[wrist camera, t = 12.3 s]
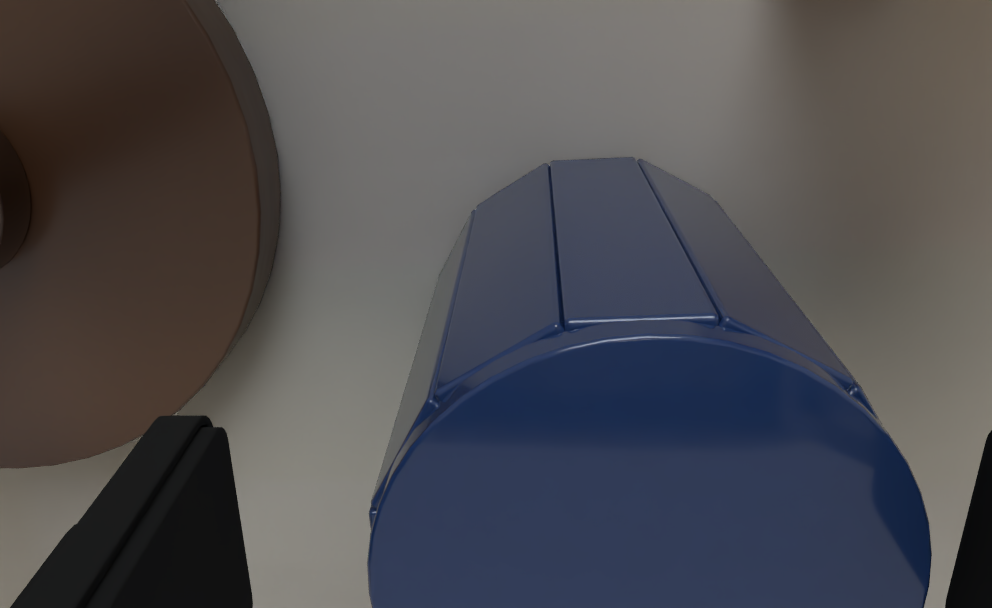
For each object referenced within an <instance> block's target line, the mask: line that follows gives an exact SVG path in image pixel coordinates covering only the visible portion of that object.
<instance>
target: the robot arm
mask: <svg viewBox="0 0 992 608" xmlns="http://www.w3.org/2000/svg"><path fill="white" fill-rule="evenodd" d="M252 607H253V601H252V592H251V585H250V579H249V572H248V566H247V559H246V553H245V546H244V540H243V533H242V527H241V521H240V514H239V508H238V501H237V495H236V488H235V482H234V475H233V469H232V462H231V456H230V449H229V443H228V437H227V433H226V431H225V429H224V428H222V427H213V425H212V422H211V420H210V418H208V417H207V416H159V417H158V418H157V419H156V420H155V421H154V422H153V423H152V425H151V426H150V427H149V429H148V430H147V431H146V433H145V434H144V435H143V437H142V438H141V439H140V441H139V442H138V443H137V445H136V446H135V447H134V449H133V450H132V451H131V453H130V454H129V455H128V457H127V458H126V459H125V461H124V462H123V463H122V465H121V466H120V467H119V469H118V470H117V471H116V473H115V474H114V475H113V477H112V478H111V479H110V481H109V482H108V483H107V485H106V486H105V487H104V489H103V490H102V491H101V493H100V494H99V495H98V497H97V498H96V499H95V501H94V502H93V503H92V505H91V506H90V507H89V509H88V510H87V511H86V513H85V514H84V515H83V517H82V518H81V519H80V521H79V522H78V523H77V524H76V525H74V526H73V527H72V528H71V529H70V530H69V531H68V532H67V533H66V534H65V535H64V537H63V538H62V539H61V541H60V542H59V543H58V545H57V546H56V547H55V549H54V550H53V551H52V553H51V554H50V555H49V557H48V558H47V559H46V561H45V562H44V563H43V565H42V566H41V567H40V569H39V570H38V571H37V573H36V574H35V575H34V577H33V578H32V579H31V580H30V582H29V583H28V584H27V586H26V587H25V588H24V590H23V591H22V592H21V594H20V595H19V596H18V598H17V599H16V600H15V602H14V603H13V604H12V606H11V607H10V608H252ZM945 608H992V431H991V432H990V433H989V434H988V437H987V439H986V443H985V447H984V451H983V455H982V459H981V463H980V467H979V471H978V475H977V479H976V483H975V487H974V491H973V495H972V499H971V503H970V507H969V511H968V515H967V519H966V522H965V526H964V530H963V534H962V538H961V542H960V546H959V550H958V554H957V558H956V562H955V566H954V570H953V574H952V578H951V582H950V586H949V590H948V594H947V598H946V605H945Z"/></svg>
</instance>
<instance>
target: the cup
mask: <svg viewBox="0 0 992 608" xmlns="http://www.w3.org/2000/svg"><path fill="white" fill-rule="evenodd" d="M369 519H370V527H371V533H370V542H369V551H368V561H367V568H368V587H369V596H370V600H371V605H372V608H924V604H925V600H926V596H927V592H928V588H929V580H930V568H931V556H932V553H931V541H930V529H929V521H928V517H927V513H926V509H925V505H924V501H923V498H922V494H921V491H920V488H919V486H918V484H917V482H916V480H915V477H914V475H913V473H912V471H911V468H910V466H909V464H908V462H907V460H906V459H905V457H904V456H903V454H902V453H901V451H900V450H899V448H898V447H897V445H896V444H895V442H894V441H893V439H892V438H891V436H890V435H889V433H888V432H887V431H886V430H885V428H884V427H883V425H882V423H881V422H880V420H879V418H878V416H877V414H876V413H875V411H874V409H873V407H872V405H871V404H870V402H869V400H868V398H867V396H866V395H865V393H864V391H863V389H862V387H861V386H860V385H859V384H858V382H857V381H856V380H855V378H854V377H853V376H852V375H851V373H850V372H849V371H848V369H847V368H846V367H845V366H844V364H843V363H842V362H841V360H840V359H839V358H838V357H837V355H836V354H835V353H834V351H833V350H832V349H831V348H830V346H829V345H828V344H827V342H826V341H825V340H824V339H823V337H822V336H821V335H820V334H819V332H818V331H817V330H816V328H815V327H814V326H813V325H812V323H811V322H810V321H809V319H808V318H807V317H806V316H805V314H804V313H803V312H802V310H801V309H800V308H799V307H798V305H797V304H796V303H795V301H794V300H793V299H792V298H791V296H790V295H789V294H788V292H787V291H786V290H785V289H784V287H783V286H782V285H781V283H780V282H779V281H778V280H777V278H776V277H775V276H774V274H773V273H772V272H771V271H770V269H769V268H768V267H767V265H766V264H765V263H764V262H763V260H762V259H761V258H760V256H759V255H758V254H757V253H756V251H755V250H754V249H753V247H752V246H751V245H750V244H749V242H748V241H747V240H746V239H745V237H744V236H743V235H742V233H741V232H740V231H739V230H738V228H737V227H736V226H735V224H734V223H733V222H732V221H731V219H730V218H729V217H728V215H727V214H726V213H725V212H724V210H723V209H722V208H721V206H720V205H719V204H718V203H717V201H715V200H714V199H713V198H712V197H711V196H710V195H709V194H707V193H705V192H703V191H702V190H700V189H698V188H696V187H694V186H692V185H690V184H688V183H686V182H684V181H683V180H681V179H679V178H677V177H675V176H673V175H671V174H669V173H667V172H665V171H664V170H662V169H660V168H658V167H656V166H654V165H652V164H650V163H648V162H646V161H644V160H643V159H638V160H637V161H636V159H635V158H633V157H624V158H602V159H580V160H558V161H551V162H550V166H549V165H548V164H547V163H545V164H542V165H541V166H539V167H538V168H536V169H534V170H533V171H531V172H530V173H528V174H526V175H525V176H523V177H522V178H520V179H518V180H517V181H515V182H514V183H512V184H510V185H509V186H507V187H506V188H504V189H502V190H501V191H499V192H498V193H496V194H494V195H493V196H491V197H490V198H488V199H487V200H485V201H483V202H482V203H480V204H479V205H478V206H477V208H476V210H473V211H472V212H471V214H470V216H469V218H468V220H467V222H466V224H465V226H464V228H463V230H462V232H461V234H460V235H459V237H458V239H457V241H456V243H455V245H454V247H453V249H452V251H451V253H450V255H449V257H448V259H447V261H446V263H445V265H444V267H443V268H442V270H441V272H440V274H439V277H438V280H437V283H436V287H435V290H434V293H433V297H432V300H431V303H430V307H429V310H428V313H427V317H426V320H425V323H424V327H423V330H422V333H421V337H420V340H419V343H418V347H417V350H416V353H415V357H414V360H413V363H412V367H411V370H410V373H409V377H408V380H407V383H406V387H405V390H404V393H403V397H402V400H401V403H400V407H399V410H398V413H397V417H396V420H395V423H394V427H393V430H392V433H391V437H390V440H389V443H388V447H387V450H386V453H385V457H384V460H383V463H382V467H381V470H380V473H379V477H378V480H377V483H376V487H375V490H374V493H373V497H372V500H371V507H370V511H369Z"/></svg>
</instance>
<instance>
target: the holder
mask: <svg viewBox="0 0 992 608" xmlns="http://www.w3.org/2000/svg"><path fill="white" fill-rule="evenodd" d="M279 214H280V184H279V172H278V160H277V152H276V148H275V143H274V138H273V134H272V129H271V124H270V120H269V115H268V112H267V109H266V106H265V103H264V100H263V97H262V94H261V92H260V89H259V86H258V83H257V80H256V77H255V74H254V71H253V69H252V67H251V65H250V63H249V61H248V59H247V57H246V55H245V53H244V51H243V49H242V47H241V45H240V43H239V41H238V39H237V37H236V35H235V32H234V30H233V29H232V27H231V26H230V24H229V22H228V21H227V19H226V18H225V16H224V15H223V13H222V12H221V10H220V8H219V7H218V5H217V4H216V2H215V1H214V0H0V468H28V467H40V466H51V465H57V464H62V463H67V462H71V461H76V460H80V459H85V458H89V457H92V456H95V455H98V454H101V453H103V452H106V451H109V450H112V449H115V448H117V447H120V446H123V445H125V444H126V443H128V442H130V441H132V440H134V439H136V438H138V437H140V436H142V435H144V434H145V433H146V431H147V430H148V429H149V427H150V426H151V425H152V423H153V422H154V421H155V420H156V419H157V418H158V417H159V416H172V415H173V414H175V413H176V412H178V411H179V410H180V409H181V408H182V407H183V406H184V405H185V404H186V403H187V402H188V401H189V400H190V399H191V398H192V397H193V396H194V395H195V394H196V393H197V392H198V391H199V390H200V389H201V388H202V387H203V386H204V385H205V384H206V383H207V381H208V380H209V379H210V377H211V376H212V375H213V374H214V372H215V371H216V370H217V368H218V367H219V366H220V365H221V363H222V362H223V361H224V359H225V358H226V357H227V355H228V354H229V353H230V351H231V350H232V349H233V347H234V346H235V345H236V343H237V342H238V340H239V339H240V338H241V336H242V335H243V334H244V332H245V330H246V329H247V327H248V325H249V323H250V321H251V319H252V317H253V315H254V313H255V311H256V309H257V307H258V306H259V304H260V302H261V299H262V296H263V293H264V290H265V287H266V284H267V281H268V278H269V276H270V273H271V270H272V265H273V260H274V255H275V249H276V244H277V239H278V233H279Z"/></svg>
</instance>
